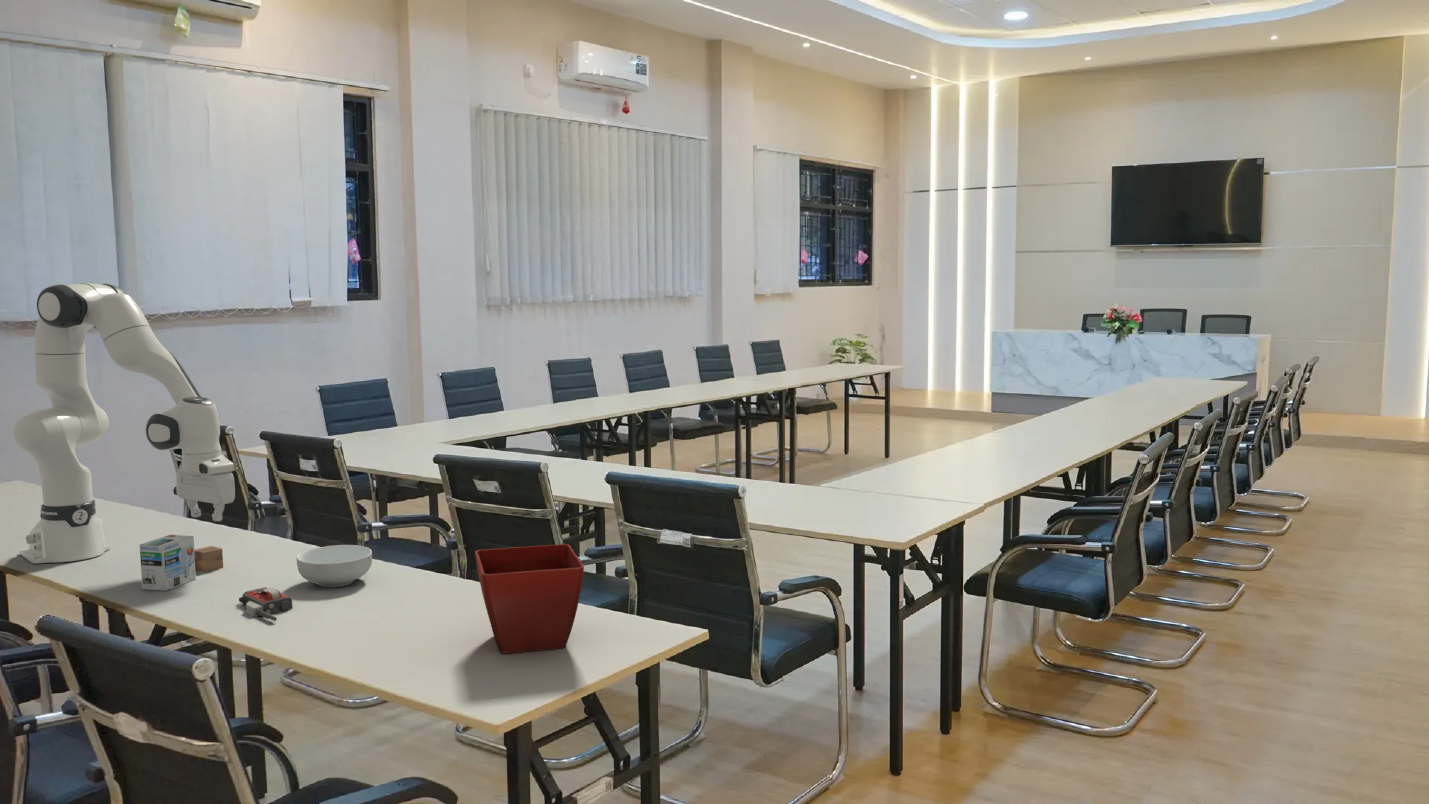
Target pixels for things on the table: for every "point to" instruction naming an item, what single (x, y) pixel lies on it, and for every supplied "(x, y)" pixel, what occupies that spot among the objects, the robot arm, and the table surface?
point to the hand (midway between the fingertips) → (206, 518)
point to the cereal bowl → (334, 564)
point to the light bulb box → (167, 562)
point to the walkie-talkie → (265, 602)
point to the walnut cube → (208, 558)
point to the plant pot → (530, 595)
